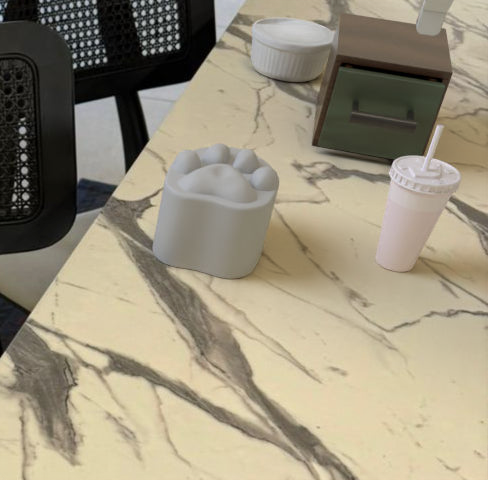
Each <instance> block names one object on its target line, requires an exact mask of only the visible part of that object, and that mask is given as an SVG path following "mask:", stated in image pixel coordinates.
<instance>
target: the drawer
mask: <svg viewBox="0 0 488 480" xmlns="http://www.w3.org/2000/svg"><path fill="white" fill-rule="evenodd" d="M444 90H445V84H444V83H439V82H437V78H436V77H430V76H423V75H417V74H411V73H405V72H399V71H393V70H386V69H380V68H374V67H368V66H362V65H356V64H350V63H343V62H342V64H341V66H340V67H339V70H338V74H337V77H336V81H335V85H334V88H333V92H332V95H331V99H330V102H329V106H328V110H327V113H326V117H325V120H324V124H323V127H322V131H321V135H320V138H319V142H318V146H317V147H320V146H321V147H320V148H325V147H327V149H331V148H332V149H331V150H337V149H338V150H339V151H342V150H344V152H348V151H349V153H354V152H355V153H354V154H360V153H361V154H360V155H365V154H366V156H371V155H372V157H377V156H378V158H382V157H384V158H383V159H388V158H389V159H388V160H394V159H395V160H396V159H397V158H400V157H403V156H421V155H422V152H423V149H424V146H425V143H426V141H427V138H428V135H429V132H430V129H431V126H432V124H433V121H434V118H435V115H436V112H437V109H438V107H439V104H440V101H441V98H442V95H443V92H444Z"/></svg>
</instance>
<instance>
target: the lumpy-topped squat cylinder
mask: <svg viewBox="0 0 488 480" xmlns="http://www.w3.org/2000/svg"><path fill="white" fill-rule="evenodd" d="M279 187H280V177H279V175H278V173H277V171H276V169H274V168H273V167H272V166H271V165H270V164H269V163H268V162H267V161H265V160H264V159H263V158H261V157H259V156H258V155H257V154H256V152H255V150H253V149H250V148H243V149H242V148H239V147H238V148H237V147H232V146H228V145H227V144H224V143H220V142H219V143H218V142H217V143H215V144H212V145H211V146H207V147H206V146H205V147H200V148H196V149H183V150H181V151H180V152H179V153H177V155H176V156H175V158H174V161H173V162H171V164H170V166H169V168H168V170H167V172H166V174H165V178H164V182H163V188H162V193H161V199H160V203H159V207H158V208H159V209H158V214H157V220H156V224H155V231H154V236H153V242H152V254H153V255H154V257H155V258H156V259H157V260H158V261H160V262H161V263H163V264H165V265H168V266H170V267H174V268H179V269H186V270H192V271H197V272H201V273H204V274H207V275H210V276H213V277H216V278H220V279H228V280H234V279H242V278H244V277H247V276H249V275H250V274H251V273H252V272H254V270H255V268H256V267H257V265H258V264H259V262H260V259H261V256H262V252H263V249H264V245H265V241H266V238H267V234H268V231H269V226H270V222H271V220H272V219H271V218H272V214H273V210H274V207H275V203H276V200H277V196H278V191H279Z"/></svg>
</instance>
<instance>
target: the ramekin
mask: <svg viewBox="0 0 488 480" xmlns="http://www.w3.org/2000/svg"><path fill="white" fill-rule="evenodd" d="M251 35H252V37H251V49H250V51H251V52H250V62H251V65H252V67H253V70H255V71H256V72H257V73H259V74H260V75H262V76H265V77H268V78H270V79H274V80H278V81H283V82H290V83H304V82H309V81H310V82H311V81H312V80H315V79H316V78H317V77H318V76H320V75H321V74H322V73H323V71H324V70H325V67H326V64H327V60H328V57H329V53H330V49H331V46H332V42H333V38H334V35H335V31H333V30H331V29H330V28H328V27H327V26H324V25H322V24H319V23H316V22H312V21H308V20H304V19H300V18H299V19H298V18H294V17H293V18H292V17H265V18H261V19H260V18H259V19H258V20H256V21H255V22H254V23H253V24H252V28H251Z"/></svg>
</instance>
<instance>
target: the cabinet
mask: <svg viewBox="0 0 488 480" xmlns="http://www.w3.org/2000/svg"><path fill="white" fill-rule="evenodd" d="M334 33H335V35H334V38H333V42H332V46H331V49H330V53H329V57H328V59H327V62H326V64H325V67H324V72H323V76H322V79H321V83H320V86H319V90H318V94H317V97H316V98H317V99H316V105H315V106H316V107H315V114H314V123H313V132H312V139H311V146H313V147H314V146H315V147H320V148H322V147H321V146H318V142H319V138H320V135H321V131H322V127H323V124H324V120H325V117H326V113H327V110H328V106H329V102H330V99H331V95H332V92H333V88H334V85H335V81H336V77H337V74H338V70H339V67H340V66H341V64H342V62H343V63H350V64H356V65H362V66H368V67H374V68H380V69H386V70H393V71H399V72H405V73H411V74H417V75H423V76H430V77H436V78H437V82H439V83H444V84H445V90H444V92H443V95H442V98H441V101H440V104H439V107H438V109H437V112H436V115H435V118H434V121H433V124H432V126H431V129H430V132H429V135H428V138H427V141H426V143H425V146H424V149H423V152H422V155H421V156H424V155H425V153H426V150H427V147H428V144H429V141H430V139H431V136H432V134H433V130H434V127H435V125H436V121H437V119H438V116H439V113H440V111H441V108H442V105H443V102H444V99H445V96H446V93H447V91H448V88H449V85H450V82H451V79H452V77H453V74H454V71H453V65H452V59H451V53H450V45H449V41H448V40H449V39H448V33H447V29H446V28H445V27H444V28H443V27H442V28H441V31H440V32H439V34H437V35H435V36H430V35H423V34H419V33H418V32H417V29H416V23H411V22H406V21H405V22H404V21H399V20H393V19H392V20H391V19H385V18H379V17H372V16H367V15H360V14H354V13H346V12H340V13H339V16H338V21H337V24H336V27H335V31H334ZM324 148H327V147H324ZM327 149H328V148H327ZM330 149H331V150H333V149H332V148H330ZM336 150H338V149H336ZM341 151H344V150H341ZM344 152H345V151H344ZM347 152H349V151H347ZM349 153H350V152H349ZM353 153H354V154H356V153H355V152H353ZM359 154H360V155H362V154H361V153H359ZM364 155H366V154H364ZM366 156H367V155H366ZM370 156H372V155H370ZM372 157H373V156H372ZM376 157H378V156H376ZM378 158H379V157H378ZM381 158H383V159H385V158H384V157H381ZM387 159H388V160H390V159H389V158H387ZM394 160H395V159H393V161H394Z"/></svg>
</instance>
